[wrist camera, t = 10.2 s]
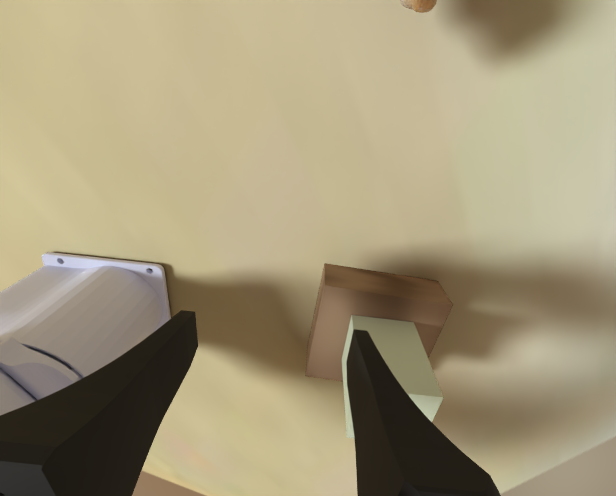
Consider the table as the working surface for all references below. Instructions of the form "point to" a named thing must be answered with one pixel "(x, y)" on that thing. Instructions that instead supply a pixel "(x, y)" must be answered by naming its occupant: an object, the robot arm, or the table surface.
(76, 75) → the table surface
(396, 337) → the sage block
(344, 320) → the walnut block
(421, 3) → the lion figurine
